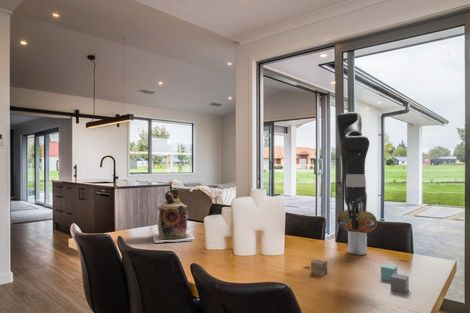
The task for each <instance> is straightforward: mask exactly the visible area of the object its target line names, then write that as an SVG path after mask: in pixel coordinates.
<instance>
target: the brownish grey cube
mask: <svg viewBox="0 0 470 313" xmlns="http://www.w3.org/2000/svg"><path fill="white" fill-rule="evenodd" d="M310 274H311V275H314V276H320V277H323V276H325V275H327V274H328V261H326V260H321V259H320V260H319V259H314V260H312V261H311V262H310Z"/></svg>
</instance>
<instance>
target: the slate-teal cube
mask: <svg viewBox="0 0 470 313" xmlns="http://www.w3.org/2000/svg"><path fill="white" fill-rule="evenodd" d="M393 274H398V266H397V265H394V264H387V263H383V264H382V265H381V266H380V279H381V280H385V281H389V282H391V276H392V275H393Z"/></svg>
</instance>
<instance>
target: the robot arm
mask: <svg viewBox="0 0 470 313" xmlns="http://www.w3.org/2000/svg"><path fill="white" fill-rule="evenodd" d="M336 123H337V125H336V126H337V130H338V137H339V143H340V152H341V153H340V157H341V167H342V174H343V186H344V187H343V188H344V203H345V205H346V206H347V210H348V212H349V218H350V219H352V229H358V214H359V213H360V211H367V203H368V202H367V200H368V195H367V194H368V193H367V186H366V185H367V183H366V182H367V181H366V160H367V159H366V158H367V156H368V151H369V148H370V140H369V138H368V137H367V136H365V135H363V133H362V127H363V126H362V117H361V114H360V112H358V111H350V112H349V111H348V112H344V113H343V112H341V113H338V114H337V116H336ZM356 211H357V212H356ZM353 214H354V216H353ZM367 234H368V233H361V232H351V231H347V243H348V244H347V252H348V253H349V254H353V255H367V253H368V248H367V247H368V242H367V241H368V240H367V239H368V235H367Z"/></svg>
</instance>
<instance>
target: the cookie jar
mask: <svg viewBox="0 0 470 313" xmlns="http://www.w3.org/2000/svg"><path fill="white" fill-rule="evenodd" d="M179 188H180V187H177V188H176V189H175V188H174V189H170V190H168V191H167V192H166V193H165V195H164V198H165V202H164V203H163V204H161V205H159V206H157V209H158V211H159V212H158V213H159V214H158V221H157V222H158V223H157V231H158V233H152V238H153V243H154V242H155V243H154V244H158V243H160V244H161V243H165V242H166V243H167V242H168V243H169V242H170V243H178V242H192V241H194V240H195V237H194V236H193V234H192V233H191V231H190V230H188V219H189V211H188V210H187V208H188V206H187V205H186V204H184V203H183V202H182V201H181V200H180V193H179Z"/></svg>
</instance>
